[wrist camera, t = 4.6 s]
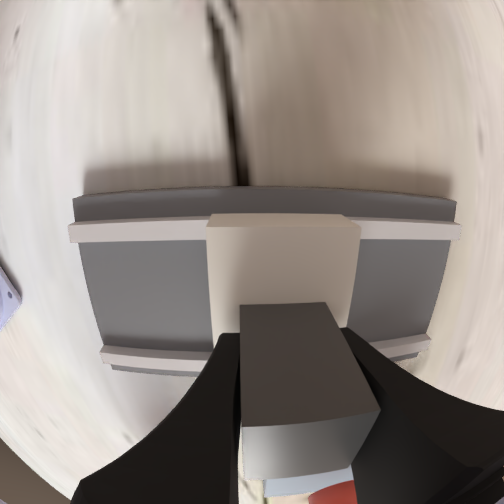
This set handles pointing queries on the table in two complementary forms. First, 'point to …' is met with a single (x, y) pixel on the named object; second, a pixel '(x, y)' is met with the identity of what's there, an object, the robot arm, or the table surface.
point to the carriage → (291, 338)
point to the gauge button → (335, 494)
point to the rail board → (196, 268)
